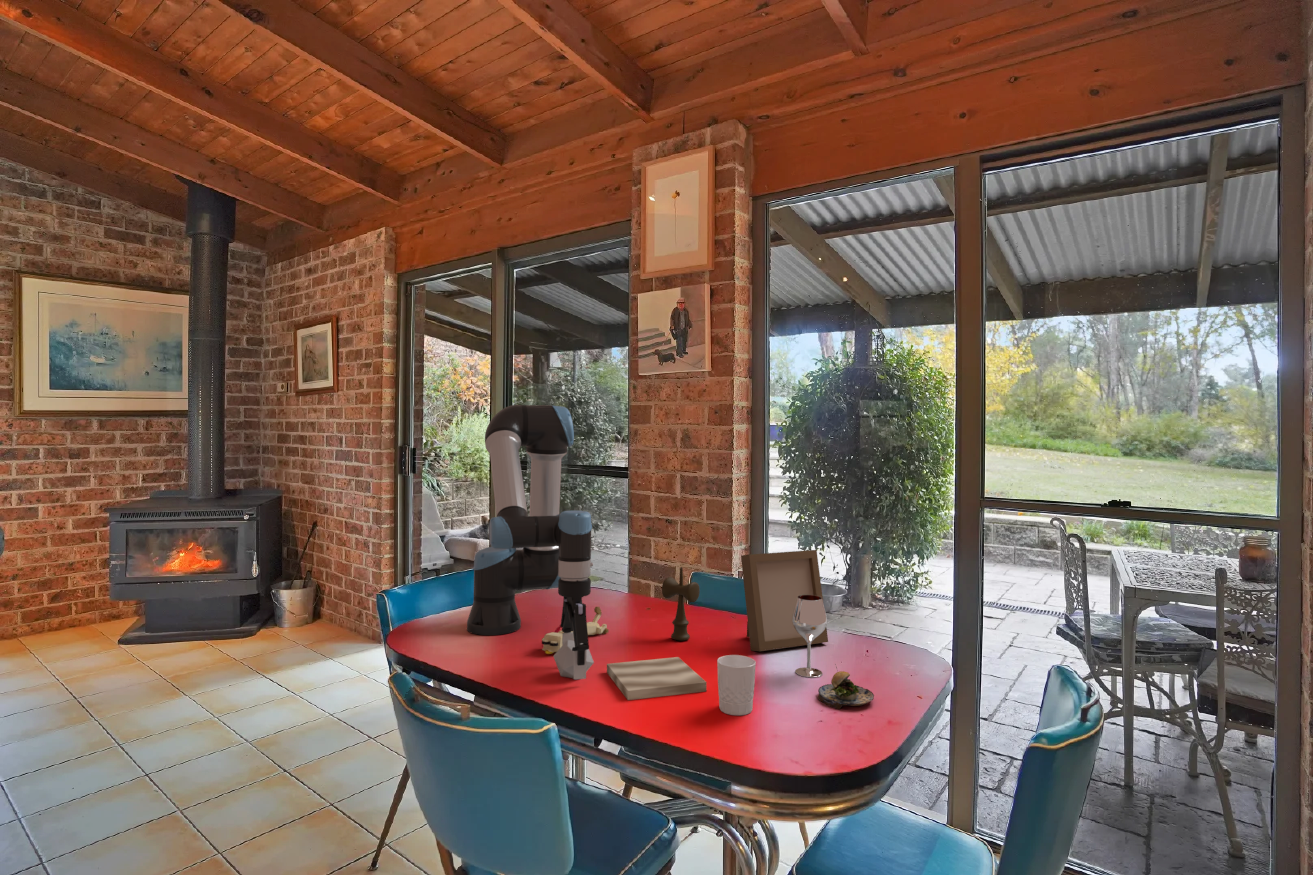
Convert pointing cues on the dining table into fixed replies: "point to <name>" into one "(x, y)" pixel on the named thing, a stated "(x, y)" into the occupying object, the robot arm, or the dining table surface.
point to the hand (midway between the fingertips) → (573, 668)
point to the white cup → (736, 684)
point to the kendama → (680, 603)
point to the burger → (843, 692)
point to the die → (569, 659)
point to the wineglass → (809, 626)
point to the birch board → (655, 678)
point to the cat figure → (555, 638)
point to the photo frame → (778, 596)
